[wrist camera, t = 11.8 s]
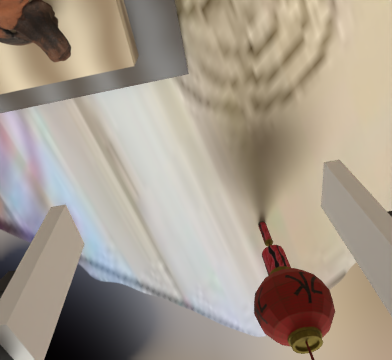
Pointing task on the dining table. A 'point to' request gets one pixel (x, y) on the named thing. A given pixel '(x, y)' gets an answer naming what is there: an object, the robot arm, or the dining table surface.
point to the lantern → (291, 302)
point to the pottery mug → (33, 27)
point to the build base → (144, 71)
